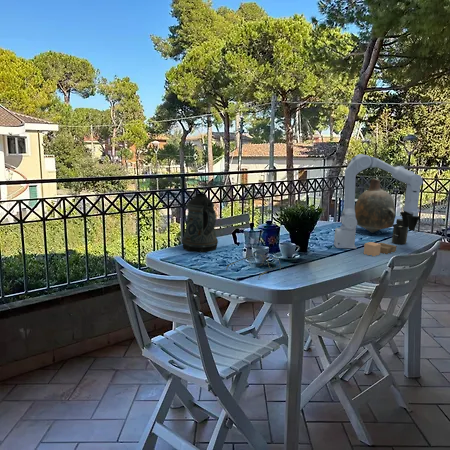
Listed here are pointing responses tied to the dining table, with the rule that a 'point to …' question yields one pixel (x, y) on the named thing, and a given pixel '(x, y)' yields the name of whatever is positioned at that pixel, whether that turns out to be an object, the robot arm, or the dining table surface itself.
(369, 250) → the terracotta cube
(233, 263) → the eyeglasses
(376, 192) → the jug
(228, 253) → the dining table surface
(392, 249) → the walnut base
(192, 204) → the beer stein
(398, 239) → the supplement bottle
